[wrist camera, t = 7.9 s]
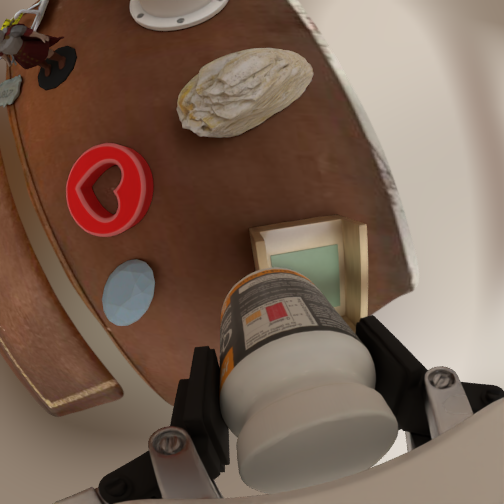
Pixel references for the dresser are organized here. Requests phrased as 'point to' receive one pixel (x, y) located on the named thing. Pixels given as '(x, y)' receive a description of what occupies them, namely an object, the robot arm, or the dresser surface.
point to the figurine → (37, 54)
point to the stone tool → (9, 90)
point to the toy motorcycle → (11, 22)
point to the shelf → (320, 258)
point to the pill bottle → (297, 386)
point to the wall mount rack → (39, 12)
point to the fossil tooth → (242, 91)
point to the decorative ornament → (128, 191)
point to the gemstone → (128, 292)
